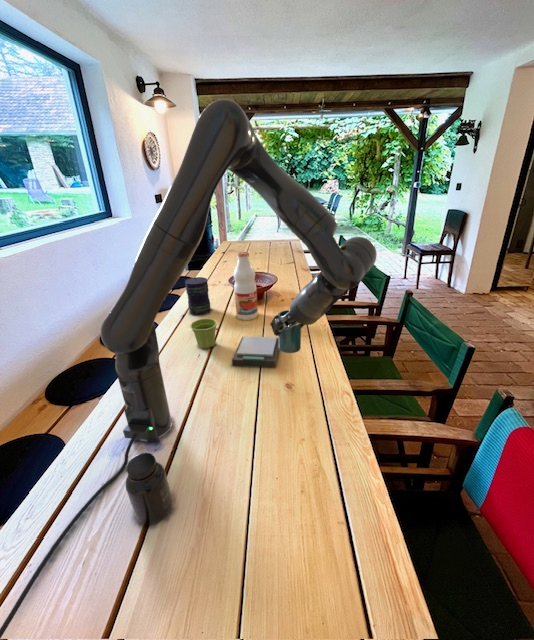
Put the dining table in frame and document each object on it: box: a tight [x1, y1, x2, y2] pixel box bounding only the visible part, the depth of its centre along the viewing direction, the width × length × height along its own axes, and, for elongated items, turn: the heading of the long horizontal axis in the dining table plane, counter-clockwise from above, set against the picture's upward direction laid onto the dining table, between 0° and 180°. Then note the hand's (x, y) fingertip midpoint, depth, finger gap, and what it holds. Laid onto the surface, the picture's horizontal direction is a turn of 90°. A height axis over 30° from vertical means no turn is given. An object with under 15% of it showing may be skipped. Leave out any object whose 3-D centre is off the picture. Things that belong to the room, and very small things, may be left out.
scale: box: [231, 336, 280, 369], centre depth 111 cm, size 16×14×3 cm
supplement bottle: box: [125, 452, 173, 526], centre depth 58 cm, size 7×7×12 cm
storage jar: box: [184, 276, 212, 317], centre depth 146 cm, size 10×10×15 cm
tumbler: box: [277, 309, 302, 354], centre depth 86 cm, size 6×6×10 cm
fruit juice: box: [232, 251, 259, 321], centre depth 136 cm, size 9×9×28 cm
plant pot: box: [190, 318, 218, 350], centre depth 117 cm, size 9×9×9 cm
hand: (286, 329), depth 88 cm, fingers closed on tumbler, 6 cm apart
